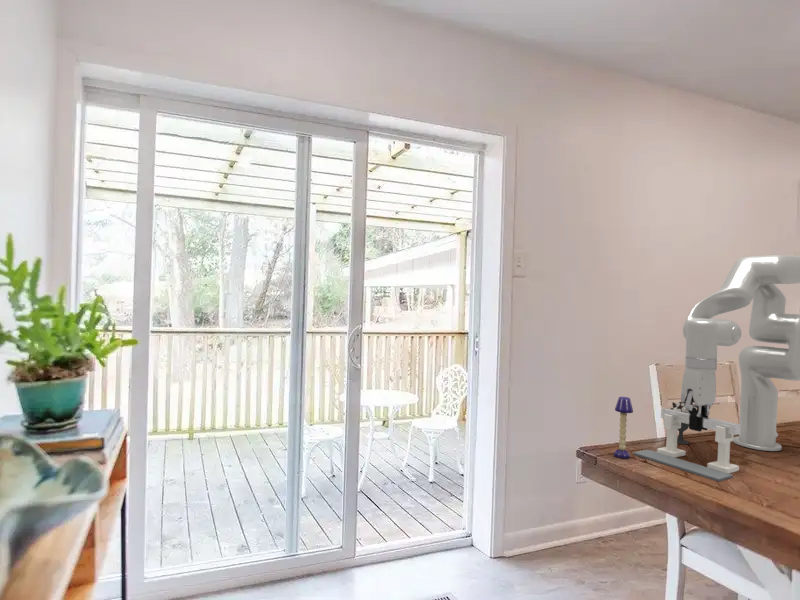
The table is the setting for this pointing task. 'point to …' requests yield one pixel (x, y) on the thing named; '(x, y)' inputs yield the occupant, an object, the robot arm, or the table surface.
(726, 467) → the rack
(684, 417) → the rail
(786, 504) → the table surface
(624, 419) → the toy lamp
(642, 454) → the mat
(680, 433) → the sundae
